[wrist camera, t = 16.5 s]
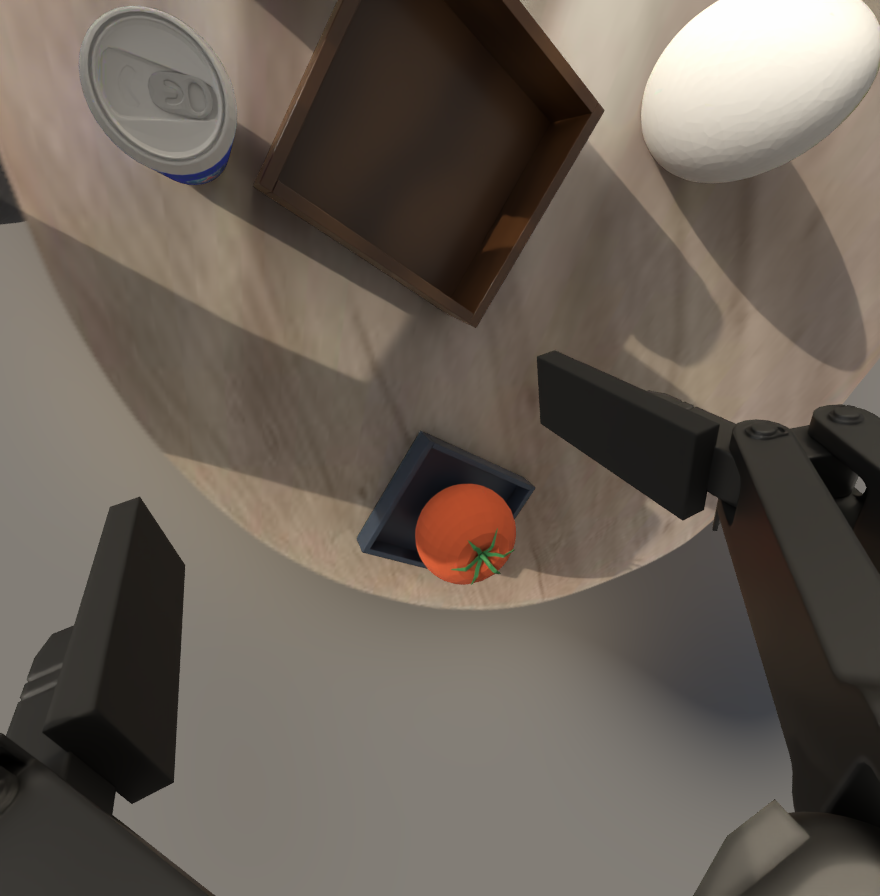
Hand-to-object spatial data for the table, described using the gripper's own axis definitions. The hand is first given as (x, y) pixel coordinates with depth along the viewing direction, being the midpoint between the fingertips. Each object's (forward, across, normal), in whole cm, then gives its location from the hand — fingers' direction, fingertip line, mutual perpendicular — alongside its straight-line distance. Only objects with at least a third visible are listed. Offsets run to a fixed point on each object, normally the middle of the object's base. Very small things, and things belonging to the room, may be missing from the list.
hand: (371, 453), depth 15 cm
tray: (+25, +10, -25) cm, 36 cm away
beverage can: (+26, -2, +11) cm, 28 cm away
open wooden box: (+25, +14, +8) cm, 30 cm away
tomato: (+24, +10, -25) cm, 36 cm away
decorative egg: (+25, +38, +8) cm, 46 cm away
